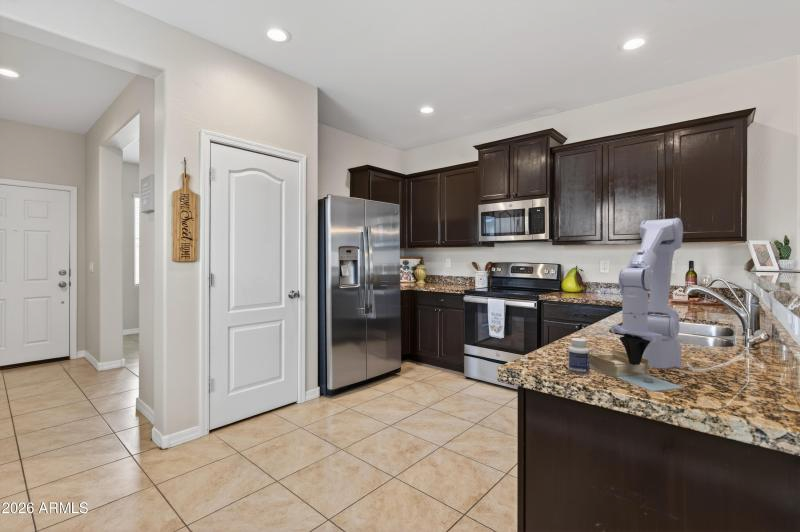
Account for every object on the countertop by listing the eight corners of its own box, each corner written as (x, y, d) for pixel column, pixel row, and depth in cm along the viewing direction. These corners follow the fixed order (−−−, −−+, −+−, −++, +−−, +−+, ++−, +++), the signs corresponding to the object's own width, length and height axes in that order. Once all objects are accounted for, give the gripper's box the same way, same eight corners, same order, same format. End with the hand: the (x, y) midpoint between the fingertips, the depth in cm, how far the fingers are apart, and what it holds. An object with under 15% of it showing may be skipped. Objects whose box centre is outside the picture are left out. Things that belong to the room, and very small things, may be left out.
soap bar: (616, 367, 111) (616, 360, 111) (625, 370, 108) (625, 363, 107) (601, 368, 110) (601, 361, 110) (610, 371, 106) (610, 364, 106)
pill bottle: (592, 377, 104) (592, 341, 104) (570, 376, 105) (571, 341, 105) (586, 371, 109) (586, 337, 109) (566, 370, 110) (566, 337, 110)
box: (613, 365, 116) (613, 349, 116) (648, 377, 104) (648, 359, 104) (581, 367, 113) (581, 351, 113) (613, 380, 101) (613, 362, 101)
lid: (645, 379, 103) (645, 371, 103) (683, 393, 93) (683, 384, 93) (616, 382, 101) (616, 374, 101) (651, 397, 91) (651, 388, 91)
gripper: (601, 310, 107) (601, 358, 107) (645, 317, 93) (645, 373, 93) (623, 309, 109) (623, 356, 109) (669, 316, 95) (668, 371, 95)
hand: (634, 364), depth 101 cm, fingers closed
